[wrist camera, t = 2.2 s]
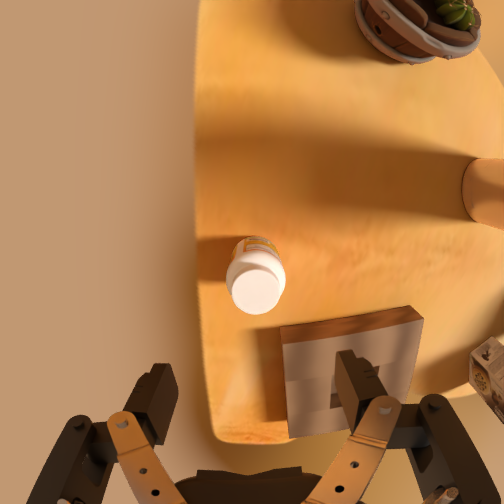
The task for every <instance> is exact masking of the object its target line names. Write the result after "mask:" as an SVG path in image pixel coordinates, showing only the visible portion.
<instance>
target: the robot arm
mask: <svg viewBox="0 0 504 504" xmlns="http://www.w3.org/2000/svg"><path fill="white" fill-rule="evenodd" d="M462 195H463V201H464V205H465V208H466V211H467V212H468V214H469V216H470V217H471V218H472V219H473V220H475V221H476V222H479V223H482V224H485V225H488V226H492V227H494V228H497V229H500V230H503V231H504V159H475V160H474V161H472V162H471V163H470V164H469V166H468V167H467V169H466V171H465V174H464V177H463V183H462ZM334 381H335V387H336V390H337V393H338V396H339V398H340V401H341V404H342V407H343V410H344V413H345V416H346V419H347V422H348V425H349V428H350V431H351V434H352V435H350V436H349V437H348V439H347V440H346V442H345V444H344V445H343V447H342V448H341V450H340V452H339V453H338V455H337V457H336V458H335V459H334V461H333V463H332V464H331V465H330V467H329V469H328V470H327V471H326V473H325V474H324V476H323V477H322V476H319V475H315V474H311V473H302V469H301V466H299V467H291V468H281V469H273V470H270V471H266V472H262V473H258V474H254V475H249V476H247V475H241V474H236V473H231V472H226V471H213V470H197V475H196V476H194V477H190V478H186V479H183V480H181V481H179V482H177V483H175V484H174V482H173V481H172V479H171V478H170V476H169V475H168V473H167V472H166V470H165V469H164V467H163V465H162V464H161V462H160V460H159V459H158V457H157V455H156V454H155V452H154V450H153V449H154V446H155V445H163V444H164V441H165V438H166V435H167V431H168V428H169V424H170V422H171V418H172V415H173V412H174V408H175V405H176V402H177V399H178V386H177V383H176V380H175V377H174V374H173V371H172V368H171V365H170V364H169V363H155V364H154V365H153V367H152V369H151V371H150V373H145V374H144V375H142V376H141V377H140V378H139V379H138V381H137V383H136V385H135V387H134V389H133V391H132V393H131V395H130V397H129V399H128V401H127V403H126V405H125V407H124V409H123V411H120V412H117V413H114V414H113V415H112V416H110V417H109V419H108V421H106V422H96V423H92V421H91V420H90V418H89V417H87V416H85V415H77V416H74V417H72V418H71V419H69V421H68V422H67V423H66V425H65V427H64V429H63V431H62V433H61V434H60V436H59V438H58V440H57V442H56V444H55V446H54V447H53V449H52V451H51V453H50V455H49V457H48V459H47V461H46V463H45V465H44V467H43V469H42V471H41V473H40V475H39V477H38V479H37V481H36V483H35V485H34V487H33V489H32V492H31V494H30V496H29V499H28V501H27V503H26V504H101V503H102V500H103V497H104V493H105V490H106V487H107V484H108V481H109V478H110V474H111V472H112V468H113V465H114V463H118V462H119V463H120V466H121V468H122V470H123V472H124V475H125V477H126V479H127V481H128V483H129V485H130V487H131V489H132V491H133V493H134V495H135V497H136V499H137V501H138V503H139V504H365V503H364V502H362V501H360V500H361V498H362V497H363V495H364V493H365V491H366V489H367V488H368V485H369V484H370V482H371V480H372V478H373V476H374V474H375V472H376V470H377V468H378V466H379V464H380V462H381V460H382V458H383V455H384V453H385V451H386V449H404V448H405V449H406V452H407V454H408V457H409V460H410V463H411V465H412V468H413V471H414V474H415V477H416V479H417V482H418V485H419V488H420V491H421V494H422V497H423V501H424V502H423V503H422V504H501V498H500V495H499V493H498V491H497V488H496V487H495V484H494V482H493V480H492V478H491V476H490V474H489V472H488V470H487V468H486V466H485V464H484V462H483V461H482V459H481V457H480V455H479V453H478V451H477V449H476V447H475V446H474V444H473V442H472V440H471V438H470V437H469V435H468V433H467V432H466V430H465V428H464V426H463V425H462V423H461V421H460V420H459V418H458V416H457V415H456V413H455V411H454V410H453V408H452V407H451V405H450V403H449V402H448V400H447V399H446V398H445V397H444V396H442V395H439V394H429V395H427V396H425V397H423V398H422V400H421V401H420V404H401V403H400V402H399V400H397V399H396V398H394V397H392V396H389V395H388V393H387V391H386V390H385V388H384V386H383V384H382V382H381V380H380V379H379V377H378V376H377V373H376V371H374V368H373V366H372V364H371V363H370V362H369V361H368V360H366V359H365V358H364V357H360V358H356V356H355V354H354V352H353V350H352V349H348V350H342V351H337V352H336V357H335V372H334ZM83 461H84V462H83Z"/></svg>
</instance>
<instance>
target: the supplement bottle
mask: <svg viewBox="0 0 504 504" xmlns="http://www.w3.org/2000/svg"><path fill="white" fill-rule="evenodd" d="M285 281H286V278H285V272H284V268H283V266H282V262H281V259H280V256H279V253H278V251H277V249H276V247H275V245H274V244H273V243H272V242H270V241H269V240H267V239H265V238H263V237H259V236H252V237H248V238H245V239H243V240H241V241H240V242H239V243H238V244H237V245H236V246H235V248H234V250H233V252H232V255H231V259H230V263H229V266H228V269H227V274H226V285H227V288H228V291H229V293H230V294H231V296H232V299H233V301H234V303H235V305H236V306H237V307H238V308H239V309H240V310H242V311H244V312H246V313H249V314H262V313H266V312H268V311H269V310H271V309H272V308H273V307H274V306H275V305H276V304H277V302H278V300H279V298H280V295H281V294H282V292H283V290H284V287H285Z"/></svg>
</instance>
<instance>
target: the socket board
mask: <svg viewBox="0 0 504 504" xmlns="http://www.w3.org/2000/svg"><path fill="white" fill-rule="evenodd" d="M423 322H424V318H423V317H422V316H421V315H420V314H419V313H418V312H417V311H416V310H414V309H413V308H412V307H411V306H410V305H409V306H405V307H400V308H395V309H390V310H385V311H380V312H375V313H369V314H364V315H358V316H352V317H346V318H340V319H334V320H327V321H320V322H313V323H306V324H298V325H291V326H282V327H280V335H281V346H282V358H283V371H284V383H285V397H286V410H287V423H288V431H289V439H290V438H298V437H304V436H312V435H318V434H324V433H329V432H334V431H340V430H345V429H349V425H348V422H347V419H346V416H345V413H344V410H343V407H342V404H341V401H340V398H339V396H338V393H337V390H336V387H335V381H334V372H335V357H336V352H337V351H342V350H348V349H352V350H353V352H354V354H355V356H356V358H360V357H364V358H365V359H366V360H368V361H369V362H370V363H371V364H372V366H373V368H374V371H376V373H377V376H378V377H379V379H380V380H381V382H382V384H383V386H384V388H385V390H386V391H387V393H388V395H389V396H392V397H394V398H396V399H397V400H399V402H400V403H401V404H405V401H406V398H407V394H408V391H409V387H410V383H411V379H412V375H413V371H414V367H415V363H416V359H417V354H418V349H419V344H420V339H421V334H422V328H423Z"/></svg>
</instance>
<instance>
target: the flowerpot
mask: <svg viewBox="0 0 504 504" xmlns="http://www.w3.org/2000/svg"><path fill="white" fill-rule="evenodd" d="M354 2H355V17H356V20H357V23H358V25H359V28H360V29H361V31H362V33H363V35H364V36H365V37H366V39H367V40H368V41H369V42H370V43H371V44H372V45H373V46H374V47H375V48H376V49H377V50H379V51H380V52H382V53H384V54H386V55H388V56H389V57H391V58H393V59H396V60H398V61H401V62H404V63H409V64H410V65H414V64H419V63H424V62H428V61H430V60H432V59H434V58H435V57H436V56H437V57H440V58H446V59H448V60H449V59H454V58H460V57H463V56H466V55H468V54H470V53H471V52H472V51H473V50H474V49H475V48H476V47H477V46H478V44H479V42H480V26H481V19H480V15H479V12H478V11H477V9H476V8H475V7H473V6H474V4H473V1H472V0H354Z"/></svg>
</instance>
